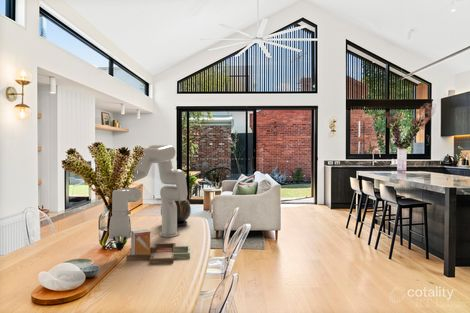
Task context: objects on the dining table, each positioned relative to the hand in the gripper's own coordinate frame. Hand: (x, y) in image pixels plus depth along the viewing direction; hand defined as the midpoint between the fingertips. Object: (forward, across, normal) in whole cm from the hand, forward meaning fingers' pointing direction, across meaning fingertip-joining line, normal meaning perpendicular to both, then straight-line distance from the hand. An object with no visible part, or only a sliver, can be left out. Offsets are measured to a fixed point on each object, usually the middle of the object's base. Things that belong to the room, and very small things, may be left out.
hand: (119, 249), depth 170 cm
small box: (+4, -10, 0) cm, 11 cm away
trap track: (+4, -19, 0) cm, 20 cm away
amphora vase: (+3, -25, -70) cm, 75 cm away
